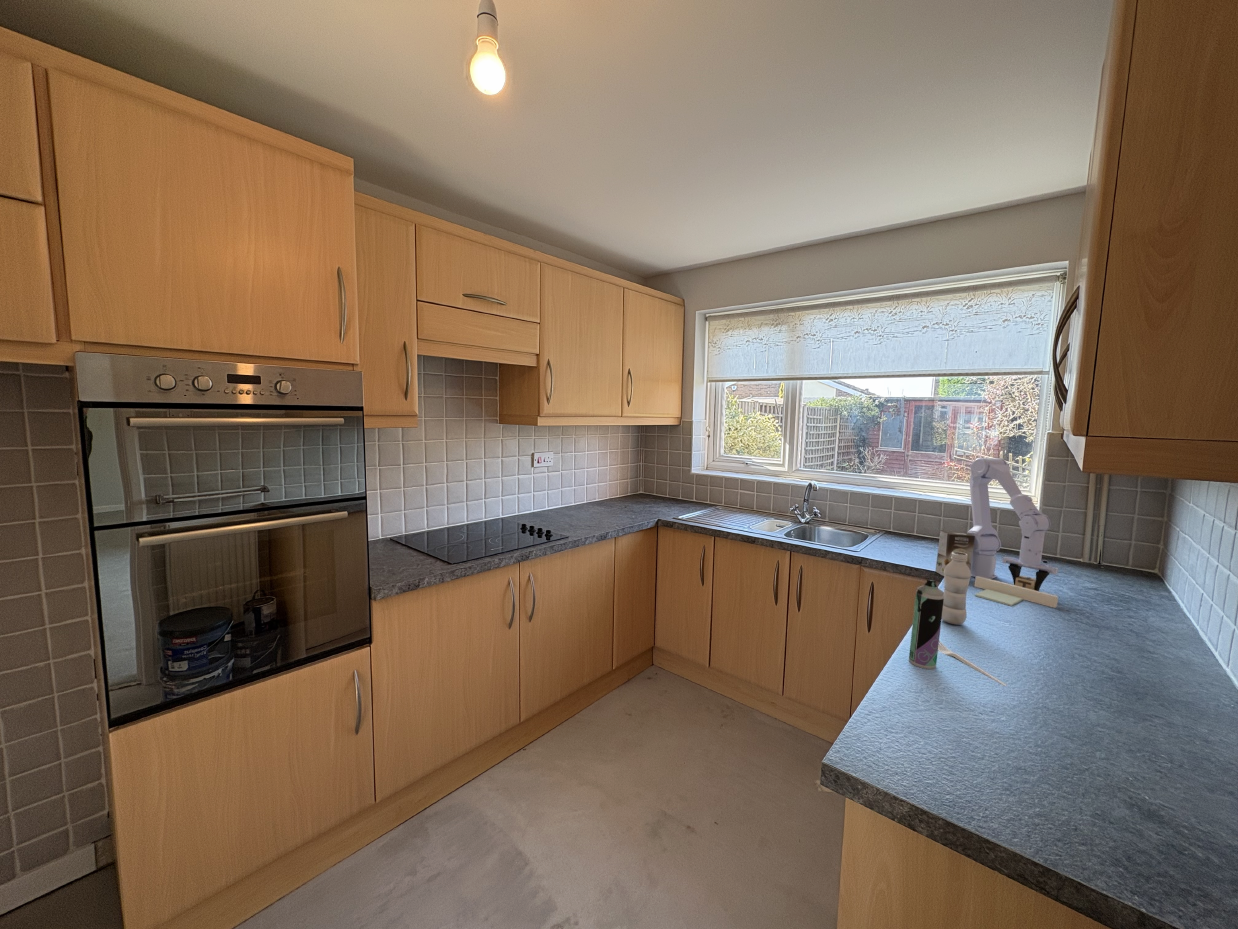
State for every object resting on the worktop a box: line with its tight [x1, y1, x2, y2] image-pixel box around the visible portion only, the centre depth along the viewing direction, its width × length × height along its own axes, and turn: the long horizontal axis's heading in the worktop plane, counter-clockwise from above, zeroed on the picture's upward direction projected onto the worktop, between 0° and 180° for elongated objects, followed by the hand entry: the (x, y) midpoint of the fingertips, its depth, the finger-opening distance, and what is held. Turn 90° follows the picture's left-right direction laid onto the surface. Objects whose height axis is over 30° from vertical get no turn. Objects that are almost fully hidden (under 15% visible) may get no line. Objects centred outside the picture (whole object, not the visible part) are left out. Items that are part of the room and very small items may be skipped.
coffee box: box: [934, 529, 975, 577], centre depth 188 cm, size 9×6×16 cm
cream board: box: [974, 576, 1059, 609], centre depth 168 cm, size 2×22×4 cm, turn 36°
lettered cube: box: [1015, 575, 1036, 590], centre depth 171 cm, size 5×5×5 cm
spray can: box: [908, 579, 944, 670], centre depth 117 cm, size 6×6×20 cm
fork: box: [938, 640, 1008, 687], centre depth 119 cm, size 3×20×2 cm, turn 12°
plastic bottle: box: [941, 552, 972, 626], centre depth 142 cm, size 6×7×20 cm
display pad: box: [974, 589, 1023, 607], centre depth 165 cm, size 10×10×1 cm
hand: (1026, 589), depth 171 cm, fingers closed on lettered cube, 5 cm apart
